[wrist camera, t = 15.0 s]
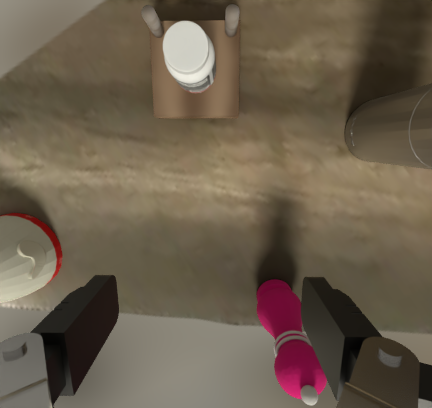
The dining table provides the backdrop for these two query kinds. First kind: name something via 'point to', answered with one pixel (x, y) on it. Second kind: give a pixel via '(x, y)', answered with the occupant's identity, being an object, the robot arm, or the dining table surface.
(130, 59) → the dining table surface
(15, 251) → the kitchen timer
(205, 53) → the pill bottle
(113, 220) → the dining table surface
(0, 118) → the dining table surface
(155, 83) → the stand
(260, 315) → the pepper mill
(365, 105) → the robot arm
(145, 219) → the dining table surface
